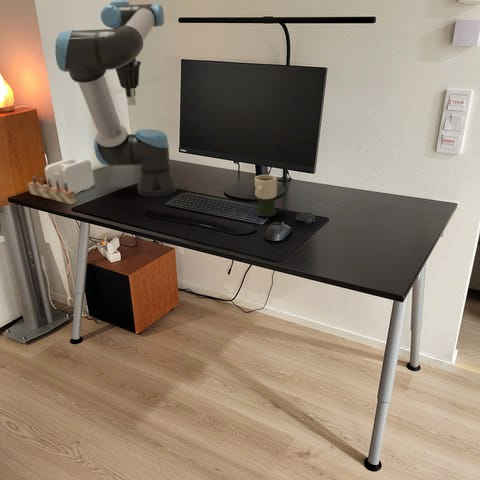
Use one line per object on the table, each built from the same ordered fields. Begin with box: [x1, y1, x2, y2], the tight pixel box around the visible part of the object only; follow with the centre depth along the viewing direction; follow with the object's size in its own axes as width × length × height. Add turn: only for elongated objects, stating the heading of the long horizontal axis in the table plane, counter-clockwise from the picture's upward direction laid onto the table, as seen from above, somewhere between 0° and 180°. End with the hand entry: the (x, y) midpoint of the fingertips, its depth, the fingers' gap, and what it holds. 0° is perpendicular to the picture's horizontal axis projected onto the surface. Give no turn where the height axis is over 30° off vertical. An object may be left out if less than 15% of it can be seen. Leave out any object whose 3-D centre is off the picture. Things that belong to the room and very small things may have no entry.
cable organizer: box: [44, 158, 95, 195], centre depth 194 cm, size 15×11×12 cm
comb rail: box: [27, 175, 78, 205], centre depth 187 cm, size 26×2×7 cm, turn 55°
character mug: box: [254, 174, 278, 217], centre depth 161 cm, size 11×7×13 cm, turn 153°
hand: (132, 104), depth 204 cm, fingers closed
